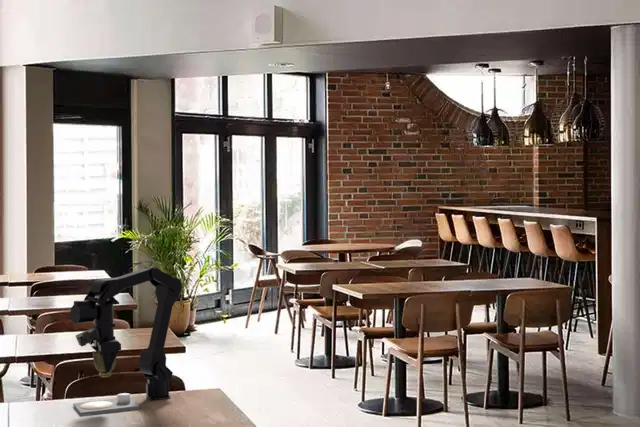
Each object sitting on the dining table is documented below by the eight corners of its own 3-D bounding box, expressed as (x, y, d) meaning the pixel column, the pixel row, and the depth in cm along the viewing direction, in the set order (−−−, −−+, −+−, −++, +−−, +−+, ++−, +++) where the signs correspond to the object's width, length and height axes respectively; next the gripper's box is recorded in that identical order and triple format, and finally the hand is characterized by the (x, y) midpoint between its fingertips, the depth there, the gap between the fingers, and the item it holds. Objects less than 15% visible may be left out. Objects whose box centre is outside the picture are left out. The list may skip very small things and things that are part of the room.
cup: (120, 373, 301) (119, 348, 301) (113, 378, 294) (113, 352, 294) (97, 374, 302) (96, 348, 301) (89, 378, 294) (89, 352, 294)
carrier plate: (130, 400, 310) (129, 389, 310) (140, 408, 297) (139, 397, 297) (73, 406, 303) (72, 395, 302) (80, 415, 290) (80, 404, 290)
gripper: (71, 318, 302) (73, 368, 303) (83, 325, 285) (85, 378, 286) (107, 316, 307) (108, 364, 307) (121, 322, 290) (122, 374, 291)
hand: (105, 370), depth 298 cm, fingers closed on cup, 6 cm apart
